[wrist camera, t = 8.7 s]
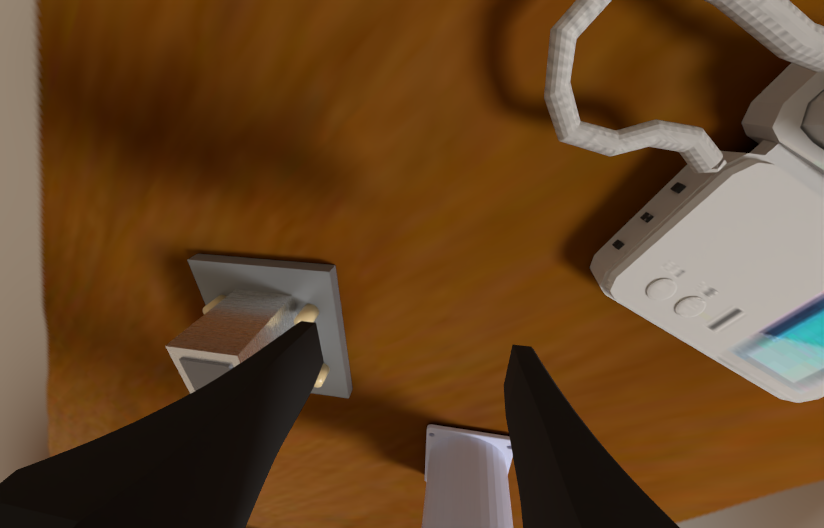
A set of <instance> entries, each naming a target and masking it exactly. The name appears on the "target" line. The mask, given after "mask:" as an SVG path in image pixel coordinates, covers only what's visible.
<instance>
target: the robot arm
mask: <svg viewBox="0 0 824 528" xmlns="http://www.w3.org/2000/svg"><path fill="white" fill-rule="evenodd" d="M323 363H324V360H323V355H322V350H321V345H320V340H319V335H318V330H317V325H316V323H315V322H306V321H300V322H299V323H297V324H296V325H294V326H293V327H291V328H290V329H289V330H287V331H286V332H284V333H283V334H282V335H280V336H279V337H277V338H276V339H275V340H273V341H272V342H270V343H269V344H268V345H266V346H265V347H263V348H262V349H261V350H259V351H258V352H256V353H255V354H253V355H252V356H251V357H249V358H248V359H246V360H244V361H243V362H241V363H240V364H238V365H237V366H235V367H234V368H232V369H231V370H229V371H228V372H226V373H224V374H223V375H221V376H220V377H218V378H217V379H215V380H213V381H212V382H210V383H208V384H207V385H205V386H203V387H201V388H200V389H198V390H196V391H194V392H193V393H191V394H189V395H187V396H185V397H184V398H182V399H180V400H178V401H176V402H174V403H172V404H170V405H168V406H166V407H164V408H162V409H160V410H158V411H156V412H154V413H152V414H150V415H148V416H146V417H144V418H142V419H140V420H138V421H136V422H134V423H131V424H129V425H127V426H125V427H123V428H120V429H118V430H116V431H114V432H111V433H109V434H107V435H104V436H102V437H100V438H97V439H95V440H93V441H90V442H88V443H86V444H83V445H81V446H78V447H76V448H73V449H71V450H68V451H65V452H63V453H60V454H58V455H55V456H52V457H50V458H47V459H45V460H42V461H39V462H37V463H35V464H32V465H29V466H26V467H24V468H21V469H18V470H16V471H15V472H14V473H12V474H11V475H10V476H9V477H7V478H6V479H5V480H4V481H3V482H1V483H0V528H245V527H246V524H247V522H248V519H249V517H250V515H251V512H252V510H253V508H254V505H255V503H256V500H257V498H258V496H259V493H260V491H261V489H262V486H263V484H264V482H265V480H266V477H267V475H268V473H269V471H270V468H271V466H272V464H273V462H274V459H275V457H276V455H277V453H278V451H279V449H280V447H281V446H282V444H283V442H284V440H285V438H286V437H287V435H288V433H289V431H290V429H291V428H292V426H293V424H294V422H295V420H296V419H297V417H298V415H299V413H300V411H301V410H302V408H303V406H304V404H305V402H306V400H307V399H308V397H309V395H310V393H311V391H312V389H313V387H314V385H315V383H316V380H317V378H318V376H319V373H320V370H321V368H322V365H323ZM504 396H505V411H506V419H507V425H508V431H509V436H504V435H497V434H491V433H484V432H478V431H472V430H465V429H459V428H452V427H446V426H439V425H433V424H430V425H428V426H427V434H426V458H425V481H426V482H427V483H426V493H425V502H424V511H423V521H422V528H513V521H512V512H511V503H510V494H509V484H508V471H509V468H510V464H511V461H512V457H513V459H514V465H515V470H516V476H517V481H518V487H519V494H520V501H521V509H522V520H523V528H679V527H678V526H677V525H676V524H675V523H674V522H673V521H672V520H671V519H670V518H669V517H668V516H667V515H666V514H665V513H664V512H663V511H662V510H661V509H660V508H659V507H658V506H657V505H656V504H655V503H654V502H653V501H652V500H651V499H650V498H649V497H648V496H647V495H646V494H645V493H644V492H643V490H642V489H641V488H640V487H639V486H638V485H637V484H636V483H635V482H634V481H633V480H632V479H631V478H630V476H629V475H628V474H627V473H626V472H625V471H624V470H623V469H622V468H621V467H620V465H619V464H618V463H617V462H616V461H615V460H614V459H613V457H612V456H611V455H610V454H609V453H608V452H607V451H606V449H605V448H604V447H603V446H602V445H601V443H600V442H599V441H598V440H597V439H596V437H595V436H594V435H593V434H592V432H591V431H590V430H589V429H588V427H587V426H586V425H585V423H584V422H583V421H582V420H581V418H580V417H579V416H578V414H577V413H576V412H575V410H574V409H573V408H572V406H571V405H570V403H569V402H568V401H567V399H566V398H565V397H564V395H563V394H562V392H561V391H560V390H559V388H558V387H557V385H556V384H555V382H554V381H553V379H552V378H551V376H550V375H549V373H548V372H547V370H546V369H545V367H544V365H543V364H542V362H541V361H540V359H539V357H538V356H537V354H536V353H535V351H534V349H533V348H532V347H529V346H520V345H513V346H512V350H511V355H510V359H509V364H508V369H507V373H506V378H505V382H504Z"/></svg>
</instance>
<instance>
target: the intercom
mask: <svg viewBox="0 0 824 528" xmlns="http://www.w3.org/2000/svg"><path fill="white" fill-rule="evenodd" d="M704 1H707V2H709V3H711V4H713V5H714V6H715V7H716V8H718V9H719V10H720V11H721V12H723V13H724V14H725V15H726V16H728V17H729V18H730V19H731V20H733V21H734V22H735V23H736V24H738V25H739V26H740V27H741V28H743V29H744V30H745V31H746V32H748V33H749V34H750V35H751V36H753V37H754V38H755V39H756V40H758V41H759V42H760V43H761V44H762V45H764V46H765V47H766V48H767V49H769V50H770V51H771V52H772V53H774V54H775V55H776V56H777V57H779V58H781V59H783V60H786V61H789V62H791V64H790V65H789V66H788V67H787V68H786V69H785V70H784V71H783V72H782V73H781V74H780V75H779V76H778V77H777V78H775V79H774V80H773V81H772V82H771V83H770V84H769V85H768V86H767V87H766V88H765V89H764V90H763V91H762V92H761V93H760V94H759V95H758V96H757V97H756V98H755V99H754V100H753V101H752V102H751V104H750V106H749V108H748V110H747V112H746V114H745V116H744V118H743V120H742V122H741V123H742V126H743V128H744V131H745V133H746V135H747V136H748V137H750V138H751V139H753V140H754V141H755V142H757V143H758V144H759V145H758V146H757V147H755V148H754V149H753V150H752V151H751V152H750V153H740V152H728V151H720V150H719V149H718V147H717V146H716V145H715V144H714V142H713V141H712V140H711V138H710V137H709V136H708V135H707V133H706V132H705V131H704V130H703V128H701V127H696V126H690V125H685V124H679V123H673V122H667V121H662V120H656V119H655V120H652V121H648V122H645V123H641V124H638V125H634V126H630V127H627V128H623V129H620V130H613V129H609V128H605V127H601V126H598V125H594V124H590V123H586V122H582V121H580V118H579V114H578V110H577V106H576V102H575V99H574V95H573V91H572V87H571V83H570V79H571V72H572V66H573V59H574V52H575V45H576V39H577V38H578V37H579V36H580V34H581V33H582V32H583V31H584V30H585V29H586V28H587V27H588V26H589V25H590V24H591V22H592V21H593V20H594V19H595V18H596V17H597V16H598V15H599V14H600V13H601V11H602V10H603V9H604V8H605V7H606V6H607V5H608V4H609V3H610V2H611V0H576V1H575V2H574V3H573V5H572V6H571V7H570V8H569V9H568V10H567V11H566V13H565V14H564V15H563V16H562V17H561V18H560V19H559V21H558V22H557V23H556V24H555V25H554V26H553V27H552V29H551V31H550V42H549V52H548V62H547V73H546V83H545V94H544V99H545V102H546V105H547V108H548V110H549V113H550V116H551V119H552V122H553V125H554V128H555V131H556V134H557V137H558V140H559V141H561V142H564V143H568V144H571V145H574V146H577V147H581V148H584V149H587V150H590V151H594V152H597V153H600V154H603V155H607V156H614V155H618V154H622V153H626V152H630V151H633V150H637V149H641V148H645V147H654V148H660V149H665V150H671V151H677V152H679V153H680V154H681V156H682V157H683V158H684V160H685V161H686V163H687V165H686V166H685V167H684V168H683V169H682V170H681V171H680V172H679V173H678V174H677V175H676V176H675V177H674V178H673V179H672V180H671V181H670V182H669V183H668V184H667V185H666V186H664V187H663V188H662V189H661V190H660V191H659V192H658V193H657V194H656V195H655V196H654V197H653V198H652V199H651V200H650V201H649V202H648V203H647V204H646V205H645V206H644V207H643V208H642V209H641V210H640V211H639V212H638V213H637V214H636V215H635V216H634V217H633V218H632V219H631V220H630V221H629V222H627V223H626V224H625V225H624V226H623V227H622V228H621V229H620V230H619V231H618V232H617V233H616V234H615V235H614V236H613V237H612V238H611V239H610V240H609V241H608V242H607V243H606V244H605V245H604V246H603V247H602V248H601V249H600V250H599V251H598V252H597V253H596V254H595V255H594V257H593V260H592V262H591V265H590V270H591V271H592V273H593V275H594V277H595V279H596V280H597V282H598V284H599V286H600V288H601V289H602V291H603V292H604V294H605V295H606V296H608V297H610V298H611V299H613V300H615V301H616V302H618V303H620V304H621V305H623V306H625V307H626V308H628V309H630V310H631V311H633V312H635V313H636V314H638V315H640V316H641V317H643V318H645V319H647V320H648V321H650V322H652V323H653V324H655V325H657V326H658V327H660V328H662V329H663V330H665V331H667V332H668V333H670V334H672V335H673V336H675V337H677V338H678V339H680V340H682V341H683V342H685V343H687V344H688V345H690V346H692V347H694V348H695V349H697V350H699V351H700V352H702V353H704V354H705V355H707V356H709V357H710V358H712V359H714V360H715V361H717V362H719V363H720V364H722V365H724V366H725V367H727V368H729V369H730V370H732V371H734V372H735V373H737V374H739V375H741V376H742V377H744V378H746V379H747V380H749V381H751V382H752V383H754V384H756V385H757V386H759V387H761V388H762V389H764V390H766V391H767V392H769V393H771V394H772V395H774V396H776V397H777V398H779V399H783V400H788V401H792V402H797V403H800V402H805V401H810V400H815V399H819V398H821V397H823V396H824V26H821V25H819V24H816V23H814V22H813V21H811V20H810V19H809V18H808V17H807V16H806V15H805V14H804V13H802V12H801V11H800V10H799V9H798V8H797V7H796V6H795V5H794V4H792V3H791V2H790V1H789V0H704Z"/></svg>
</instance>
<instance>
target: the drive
mask: <svg viewBox="0 0 824 528" xmlns="http://www.w3.org/2000/svg"><path fill="white" fill-rule="evenodd" d="M296 316H297V313H296V309H295V304H294V300H293V295H286V294H276V293H266V292H256V291H246V290H237V289H235V290H234V291H233V292H232V293H231V294H229V295H228V296H227V297H226V298H224V299H223V300H222V301H221V302H219V303H218V304H217V305H216V306H214V307H213V308H212V309H211V310H209V311H208V312H207V313H206V314H204V315H203V316H202V317H201V318H199V319H198V320H197V321H196V322H195V323H193V324H192V325H191V326H190V327H188V328H187V329H186V330H185V331H183V332H182V333H181V334H180V335H178V336H177V337H176V338H175V339H173V340H172V341H171V342H170V343H168V344H167V345H166V346H165V347H166V348H167V350H168V352H169V354H170V356H171V358H172V360H173V362H174V364H175V365H176V367H177V369H178V371H179V373H180V375H181V377H182V379H183V381H184V382H185V384H186V386H187V388H188V390H189V392H190V394H191V393H193V392H194V391H196V390H198V389H200V388H201V387H203V386H205V385H207V384H208V383H210V382H212V381H213V380H215V379H217V378H218V377H220V376H221V375H223V374H224V373H226V372H228V371H229V370H231V369H232V368H234V367H235V366H237V365H238V364H240V363H241V362H243V361H244V360H246V359H248V358H249V357H251V356H252V355H253V354H255V353H256V352H258V351H259V350H261V349H262V348H263V347H265V346H266V345H268V344H269V343H270V342H272V341H273V340H275V339H276V338H277V337H279V336H280V335H282V334H283V333H284V332H286V331H287V330H289V329H290V328H291V327H293V326H294V325H295V324H294V319H295V318H296Z"/></svg>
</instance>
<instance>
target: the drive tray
mask: <svg viewBox="0 0 824 528" xmlns="http://www.w3.org/2000/svg"><path fill="white" fill-rule="evenodd" d="M187 260H188V263H189V265H190V268H191V270H192V273H193V275H194V278H195V280H196V283H197V285H198V287H199V290H200V292H201V295H202V297H203V300H204V302H205V305H206V306H205V307H204V308H203V313H204V314H206V313H207V312H208V311H209V310H211V309H212V308H213V307H214V306H216V305H217V304H218V303H219V302H221V301H222V300H223V299H224V298H226V297H227V296H228V295H229V294H231V293H232V292H233V291H234V290H235V289H237V290H246V291H256V292H266V293H276V294H286V295H293V300H294V304H295V309H296V313H297V316H296V318H295V319H294V324H295V325H296V324H297V323H299V322H300V321H306V322H315V323H316V325H317V330H318V335H319V340H320V345H321V350H322V355H323V360H324V363H323V365H322V368H321V370H320V373H319V376H318V378H317V380H316V383H315V385H314V387H313V389H312V391H311V393H315V394H321V395H328V396H335V397H342V398H348V399H349V397H350V394H351V392H352V382H351V374H350V367H349V360H348V353H347V346H346V339H345V332H344V324H343V317H342V310H341V303H340V296H339V289H338V281H337V274H336V267H335V265H329V264H317V263H305V262H293V261H281V260H269V259H257V258H245V257H232V256H220V255H208V254H196V255H195V256H193V257H191V258H189V259H187Z"/></svg>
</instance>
